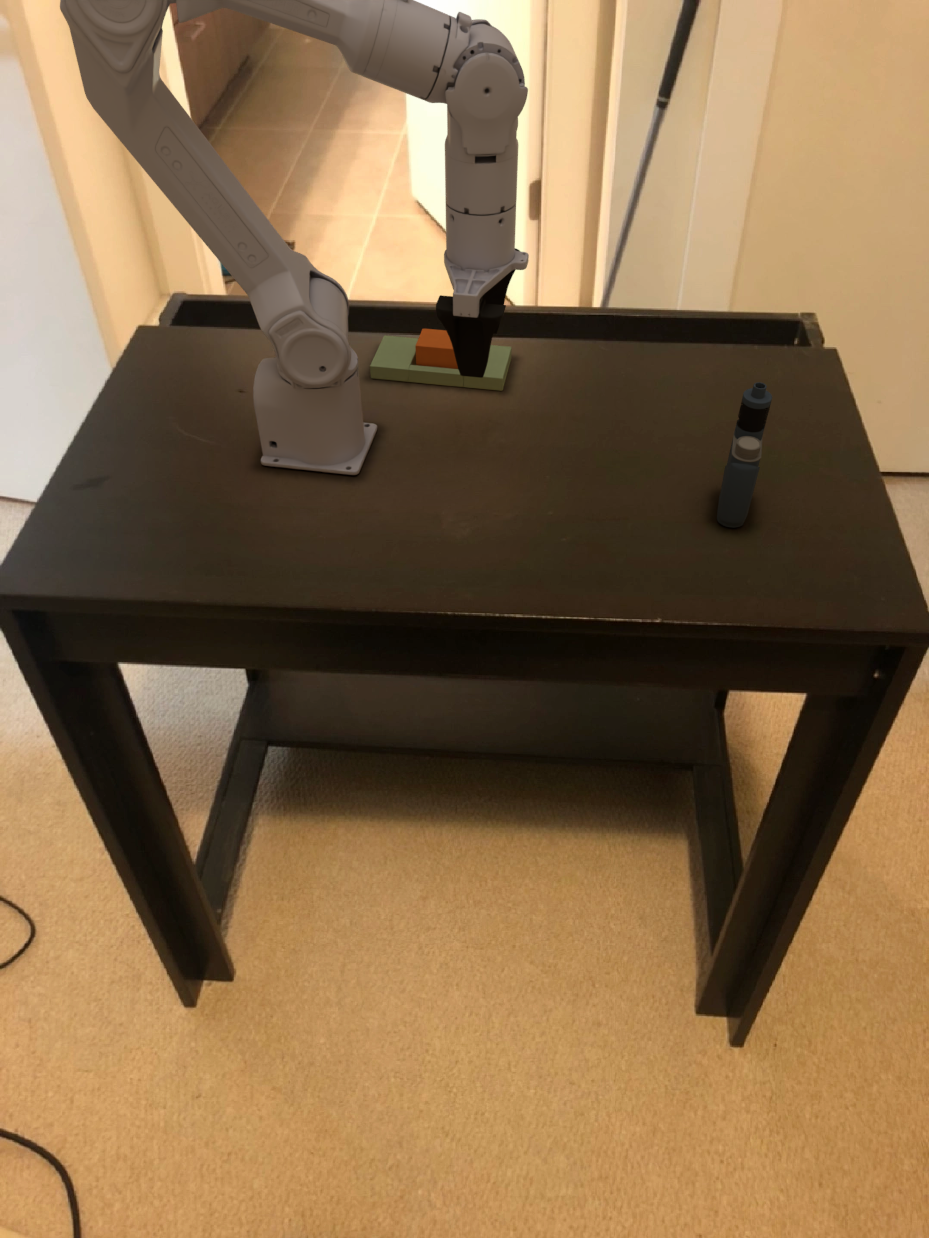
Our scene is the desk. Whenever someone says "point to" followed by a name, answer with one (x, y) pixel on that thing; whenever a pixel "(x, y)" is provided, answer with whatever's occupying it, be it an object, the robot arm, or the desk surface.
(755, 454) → the vaping device
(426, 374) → the base pad
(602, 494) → the desk surface
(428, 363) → the orange rectangular block
